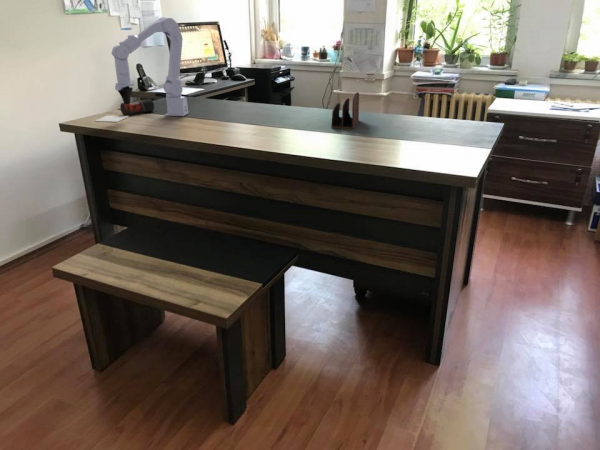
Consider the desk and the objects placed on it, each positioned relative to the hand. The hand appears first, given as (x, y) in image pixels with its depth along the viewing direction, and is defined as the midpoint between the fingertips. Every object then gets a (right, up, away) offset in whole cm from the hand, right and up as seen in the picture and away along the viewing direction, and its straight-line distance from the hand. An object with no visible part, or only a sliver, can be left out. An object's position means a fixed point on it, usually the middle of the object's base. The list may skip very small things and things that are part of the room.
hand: (127, 103), depth 230 cm
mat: (-8, -6, +4) cm, 11 cm away
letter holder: (+101, -10, -3) cm, 102 cm away
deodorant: (-6, 0, +11) cm, 12 cm away
